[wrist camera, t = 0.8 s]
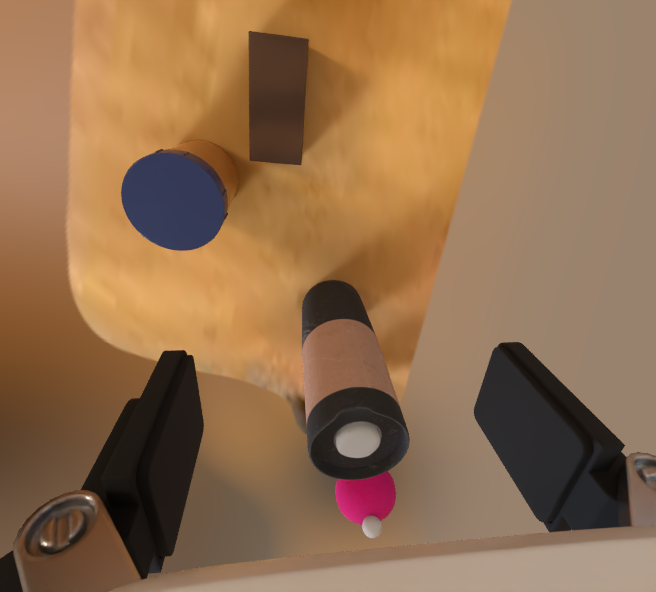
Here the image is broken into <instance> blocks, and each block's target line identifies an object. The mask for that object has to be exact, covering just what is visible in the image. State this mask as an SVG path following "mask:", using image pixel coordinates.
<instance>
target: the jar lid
mask: <svg viewBox="0 0 656 592" xmlns="http://www.w3.org/2000/svg"><path fill="white" fill-rule="evenodd" d="M226 192H227V189H225V186H224V184H223V182H222V180H221V178H220V177H219V175H218V174H217V172H216V171H215V170H214V169H213V166H212V167H211V166H210V165H209V164H208V163H207V162H205V161H204V160H203V159H201V158H199V157H198V156H196V155H194V154H191V153H190V152H189V151H188V152H186V151H182V150H174V149H168V150H163V149H160V150H158V151H156V152H155V153H152V154H150V155H148V156H145V157H143V158H141V159H140V160H138V161H137V162H135V163H134V164H133V165H132V166H131V167H130V169H129V170H128V171H127V173H126V175H125V177H124V180H123V183H122V191H121V196H122V203H123V207H124V210H125V212H126V215H127V217H128V219H129V220H130V222H131V223H132V225H133V226H134V227H135V228H136V230H137V231H138V232H139V233H140V234H142V235H143V236H144V237H145V238H147V239H148V240H149V241H151V242H153V243H154V244H157V245H159V246H161V247H164V248H167V249H172V250H192V249H196V248H199V247H201V246H204V245H205V244H207V243H208V242H210V241H211V240H212V239H214V237H215V236H216V235H217V233H218V232H219V230H220V228H221V226H222V224H223V222H224V220H225V219H226V217H227V215H228V213H227V210H228V198H227V193H226Z"/></svg>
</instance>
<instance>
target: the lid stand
mask: <svg viewBox="0 0 656 592" xmlns="http://www.w3.org/2000/svg"><path fill="white" fill-rule="evenodd" d="M308 42H309V40H308V39H305V38H297V37H290V36H282V35H275V34H267V33H260V32H252V31H249V127H250V161H259V162H271V163H282V164H294V165H301V162H302V145H303V128H304V111H305V93H306V76H307V59H308Z"/></svg>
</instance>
